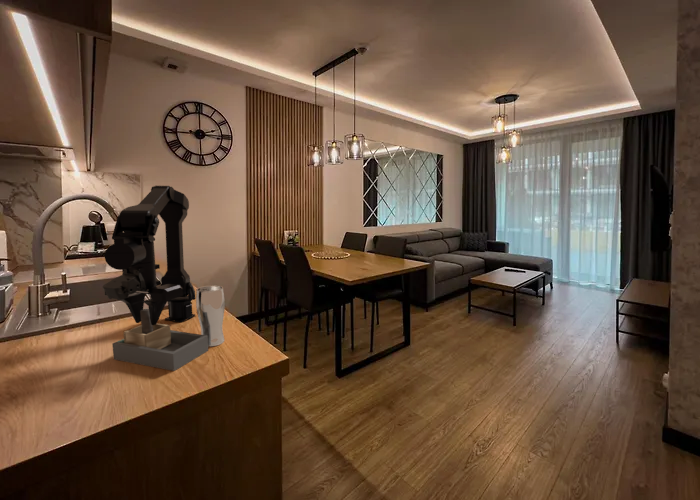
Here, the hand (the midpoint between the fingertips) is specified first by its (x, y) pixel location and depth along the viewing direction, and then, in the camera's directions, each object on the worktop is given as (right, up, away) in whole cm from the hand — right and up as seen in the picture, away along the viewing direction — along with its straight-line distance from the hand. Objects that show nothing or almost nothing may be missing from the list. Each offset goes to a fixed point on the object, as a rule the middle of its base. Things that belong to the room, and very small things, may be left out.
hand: (146, 323), depth 83 cm
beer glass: (+13, -7, +8) cm, 17 cm away
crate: (0, -6, +1) cm, 6 cm away
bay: (+4, -8, 0) cm, 9 cm away
